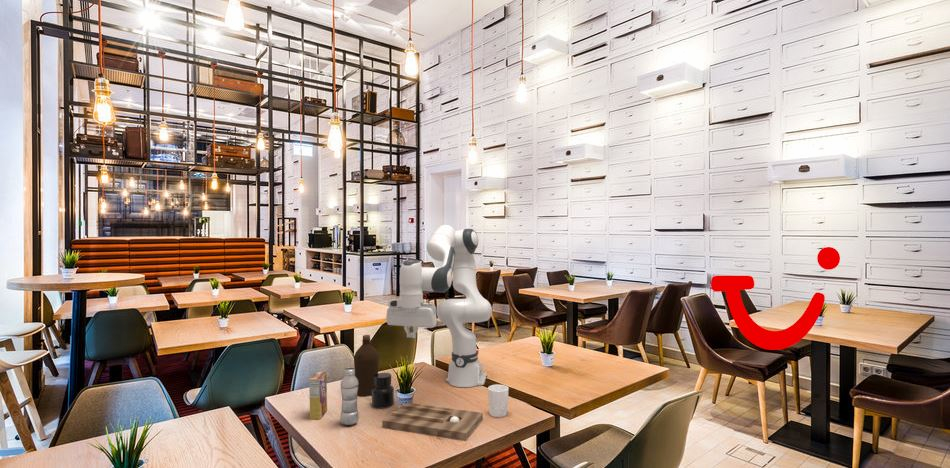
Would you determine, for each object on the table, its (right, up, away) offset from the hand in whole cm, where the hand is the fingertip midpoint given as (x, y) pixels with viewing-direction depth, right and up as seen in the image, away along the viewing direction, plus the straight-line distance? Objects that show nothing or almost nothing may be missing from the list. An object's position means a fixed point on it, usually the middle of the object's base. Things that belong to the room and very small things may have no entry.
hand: (411, 337), depth 173 cm
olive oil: (-23, -30, +23) cm, 44 cm away
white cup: (+34, -29, -1) cm, 45 cm away
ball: (+17, -27, -12) cm, 35 cm away
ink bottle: (-13, -29, +9) cm, 33 cm away
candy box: (-35, -29, -2) cm, 46 cm away
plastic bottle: (-21, -29, -10) cm, 37 cm away
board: (+9, -29, -10) cm, 32 cm away
